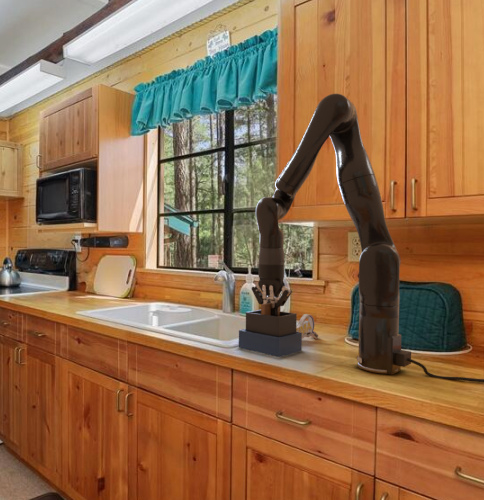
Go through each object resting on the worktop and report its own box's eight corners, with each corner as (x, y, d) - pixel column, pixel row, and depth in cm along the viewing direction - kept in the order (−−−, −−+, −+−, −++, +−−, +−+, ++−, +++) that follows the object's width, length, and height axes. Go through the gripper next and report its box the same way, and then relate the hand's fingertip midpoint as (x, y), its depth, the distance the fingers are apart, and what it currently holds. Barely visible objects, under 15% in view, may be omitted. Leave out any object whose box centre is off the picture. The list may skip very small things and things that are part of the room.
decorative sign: (290, 355, 140) (287, 325, 139) (286, 354, 141) (283, 325, 140) (318, 337, 151) (316, 310, 150) (315, 337, 152) (312, 309, 151)
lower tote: (301, 352, 132) (301, 332, 132) (278, 359, 124) (279, 338, 124) (261, 343, 143) (261, 325, 142) (238, 349, 135) (238, 329, 134)
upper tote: (296, 340, 132) (296, 303, 132) (278, 344, 125) (278, 306, 125) (263, 333, 141) (263, 299, 140) (245, 338, 134) (245, 302, 134)
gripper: (245, 262, 135) (245, 318, 136) (284, 264, 125) (283, 324, 125) (259, 261, 140) (259, 315, 140) (298, 263, 130) (297, 321, 130)
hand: (270, 319), depth 133 cm, fingers closed on upper tote, 1 cm apart
